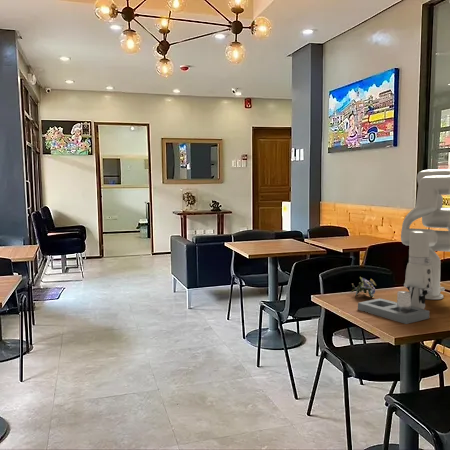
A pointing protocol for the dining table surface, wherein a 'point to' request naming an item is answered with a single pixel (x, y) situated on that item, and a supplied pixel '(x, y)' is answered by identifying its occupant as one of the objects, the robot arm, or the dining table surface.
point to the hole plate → (392, 311)
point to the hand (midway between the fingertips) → (417, 303)
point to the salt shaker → (416, 299)
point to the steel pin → (404, 302)
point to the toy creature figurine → (365, 287)
